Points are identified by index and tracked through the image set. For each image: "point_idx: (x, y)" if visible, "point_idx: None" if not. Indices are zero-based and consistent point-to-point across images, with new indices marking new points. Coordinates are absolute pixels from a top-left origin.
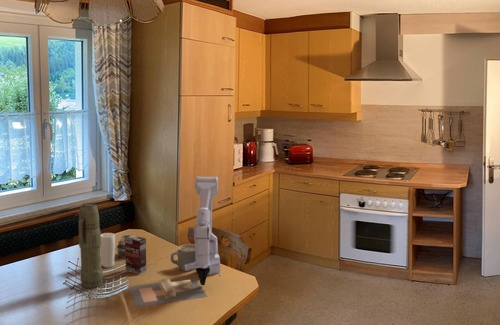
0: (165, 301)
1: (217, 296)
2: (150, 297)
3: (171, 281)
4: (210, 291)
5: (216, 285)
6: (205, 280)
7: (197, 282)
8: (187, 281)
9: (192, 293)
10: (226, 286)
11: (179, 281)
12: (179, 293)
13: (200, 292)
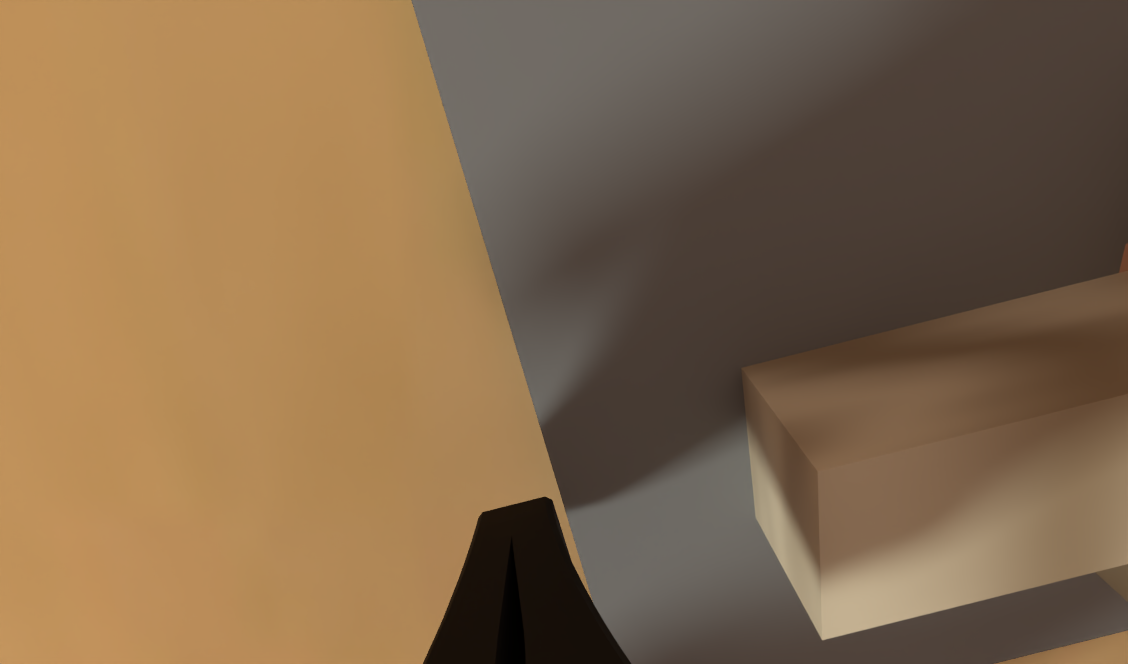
0: None
1: (138, 78)
2: None
3: (985, 660)
4: (357, 365)
5: (264, 585)
6: (453, 599)
7: None
8: (908, 561)
9: (779, 199)
10: (48, 552)
11: (1077, 562)
12: (1051, 226)
13: (585, 236)
